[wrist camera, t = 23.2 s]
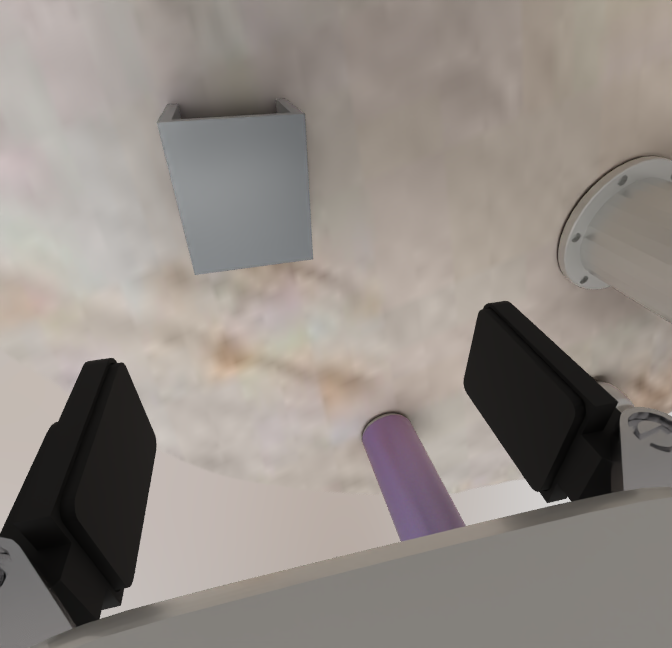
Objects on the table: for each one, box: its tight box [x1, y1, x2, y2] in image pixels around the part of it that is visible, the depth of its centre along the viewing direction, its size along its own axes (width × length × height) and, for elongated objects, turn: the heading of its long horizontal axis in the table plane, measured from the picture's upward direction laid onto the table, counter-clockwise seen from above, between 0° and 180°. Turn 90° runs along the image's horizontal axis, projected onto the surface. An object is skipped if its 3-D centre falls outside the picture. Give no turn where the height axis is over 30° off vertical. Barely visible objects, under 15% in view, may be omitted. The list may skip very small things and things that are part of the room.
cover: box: [157, 98, 313, 275], centre depth 24 cm, size 7×8×6 cm
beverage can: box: [362, 413, 465, 542], centre depth 41 cm, size 6×6×15 cm
